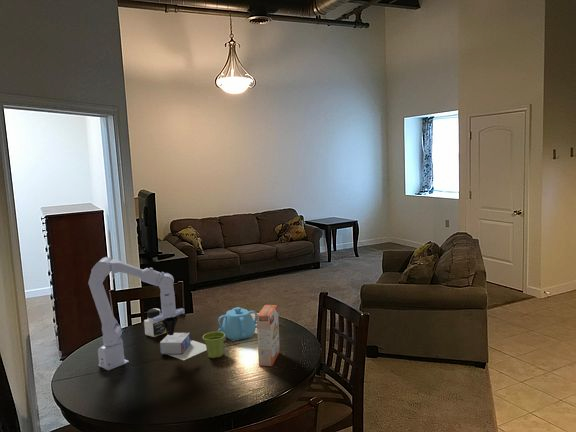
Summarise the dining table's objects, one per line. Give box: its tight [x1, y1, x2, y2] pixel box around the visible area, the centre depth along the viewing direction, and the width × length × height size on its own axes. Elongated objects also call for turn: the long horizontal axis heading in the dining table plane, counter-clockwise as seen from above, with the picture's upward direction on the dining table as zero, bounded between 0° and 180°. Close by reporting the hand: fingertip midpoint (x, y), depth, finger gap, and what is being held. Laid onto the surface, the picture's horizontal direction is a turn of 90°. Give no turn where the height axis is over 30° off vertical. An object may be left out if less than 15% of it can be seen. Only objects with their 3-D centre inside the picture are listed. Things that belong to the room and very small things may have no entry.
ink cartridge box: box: [159, 332, 192, 355], centre depth 209 cm, size 10×6×14 cm
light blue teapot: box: [217, 306, 258, 342], centre depth 220 cm, size 16×16×14 cm
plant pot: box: [202, 331, 226, 359], centre depth 200 cm, size 9×9×9 cm
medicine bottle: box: [143, 307, 167, 338], centre depth 228 cm, size 7×7×12 cm
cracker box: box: [256, 304, 280, 367], centre depth 192 cm, size 14×6×21 cm, turn 168°
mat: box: [166, 339, 207, 361], centre depth 207 cm, size 16×14×1 cm
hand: (170, 334), depth 199 cm, fingers closed
